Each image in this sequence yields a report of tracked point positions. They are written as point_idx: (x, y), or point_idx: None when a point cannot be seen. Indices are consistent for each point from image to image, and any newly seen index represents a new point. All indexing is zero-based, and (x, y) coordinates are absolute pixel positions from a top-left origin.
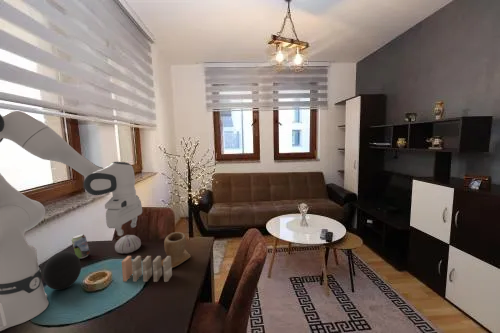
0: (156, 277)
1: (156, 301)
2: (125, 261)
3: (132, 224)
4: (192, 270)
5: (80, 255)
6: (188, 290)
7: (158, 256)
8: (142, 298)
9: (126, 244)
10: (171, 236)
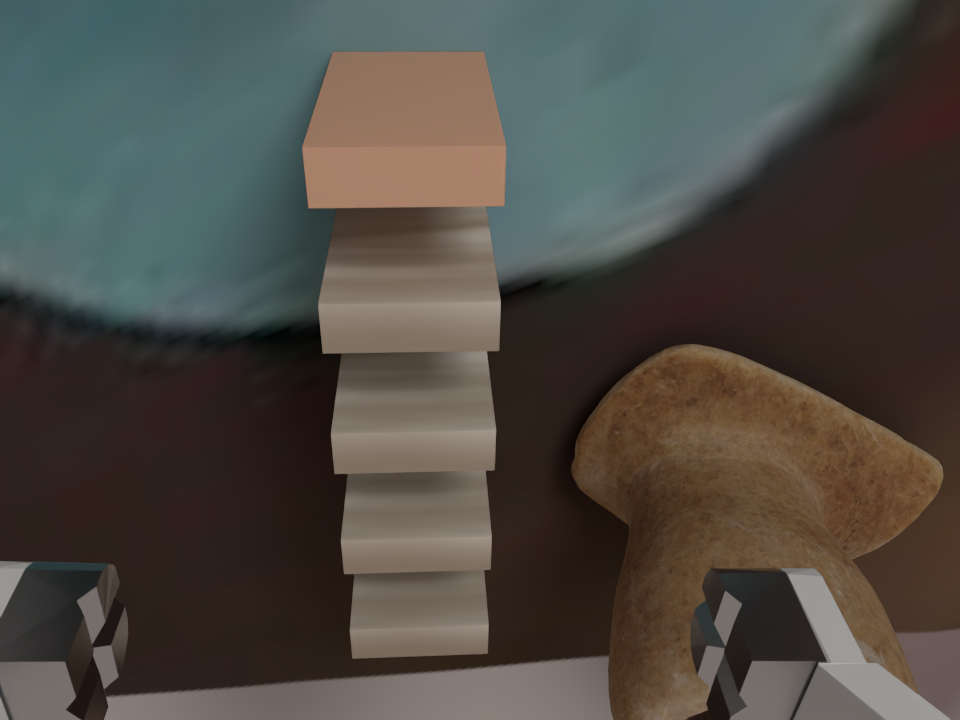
0: None
1: (80, 508)
2: (317, 205)
3: (733, 676)
4: (549, 606)
5: None
6: (260, 648)
7: (475, 552)
8: (85, 397)
9: None
10: None
